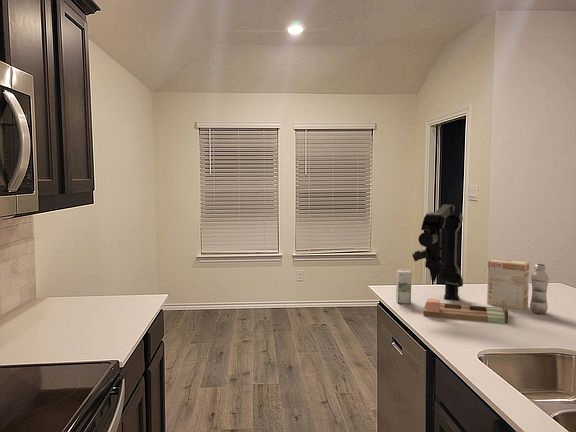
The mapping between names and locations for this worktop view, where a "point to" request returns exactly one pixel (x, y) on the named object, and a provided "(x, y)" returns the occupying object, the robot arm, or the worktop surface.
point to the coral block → (433, 305)
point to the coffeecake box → (508, 283)
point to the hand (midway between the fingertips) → (433, 281)
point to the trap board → (471, 312)
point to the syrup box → (403, 287)
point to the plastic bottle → (539, 289)
